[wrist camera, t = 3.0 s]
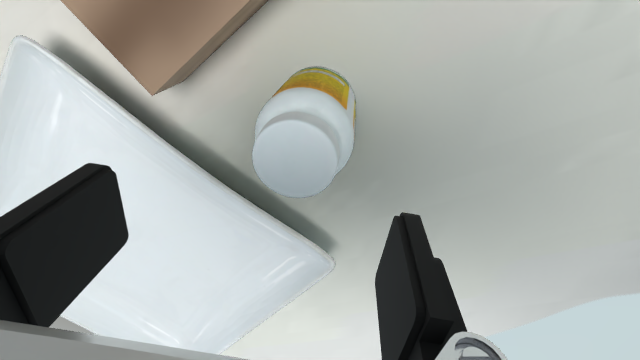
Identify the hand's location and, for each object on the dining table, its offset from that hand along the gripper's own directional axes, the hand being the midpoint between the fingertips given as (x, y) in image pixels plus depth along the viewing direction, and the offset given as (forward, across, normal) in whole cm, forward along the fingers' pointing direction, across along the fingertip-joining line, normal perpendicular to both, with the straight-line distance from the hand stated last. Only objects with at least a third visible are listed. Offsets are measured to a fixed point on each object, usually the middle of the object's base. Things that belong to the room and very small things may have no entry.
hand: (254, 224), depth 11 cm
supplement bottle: (+14, -1, 0) cm, 14 cm away
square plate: (+15, +14, +16) cm, 26 cm away
